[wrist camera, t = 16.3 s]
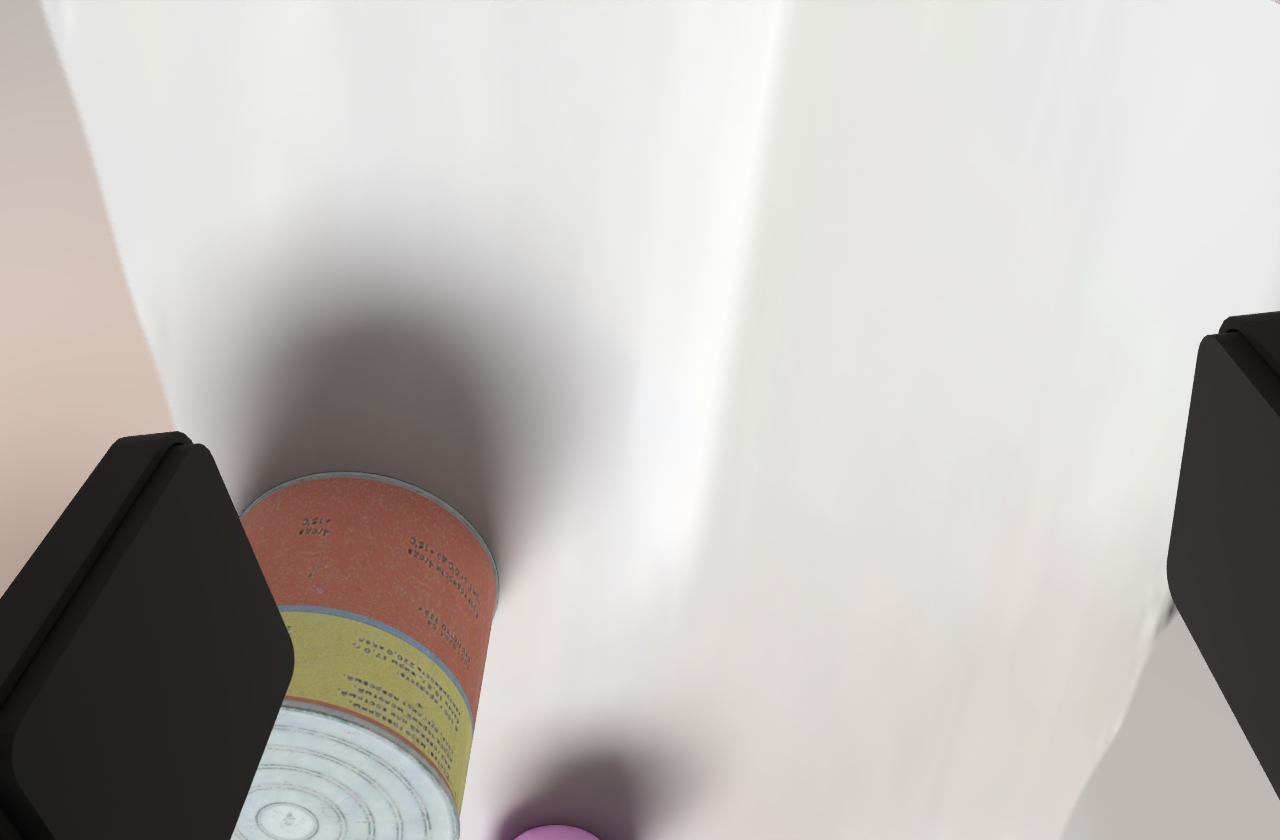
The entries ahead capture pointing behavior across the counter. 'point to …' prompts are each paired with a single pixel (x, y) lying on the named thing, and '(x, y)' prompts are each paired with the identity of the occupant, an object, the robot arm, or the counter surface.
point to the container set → (556, 833)
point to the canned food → (370, 659)
